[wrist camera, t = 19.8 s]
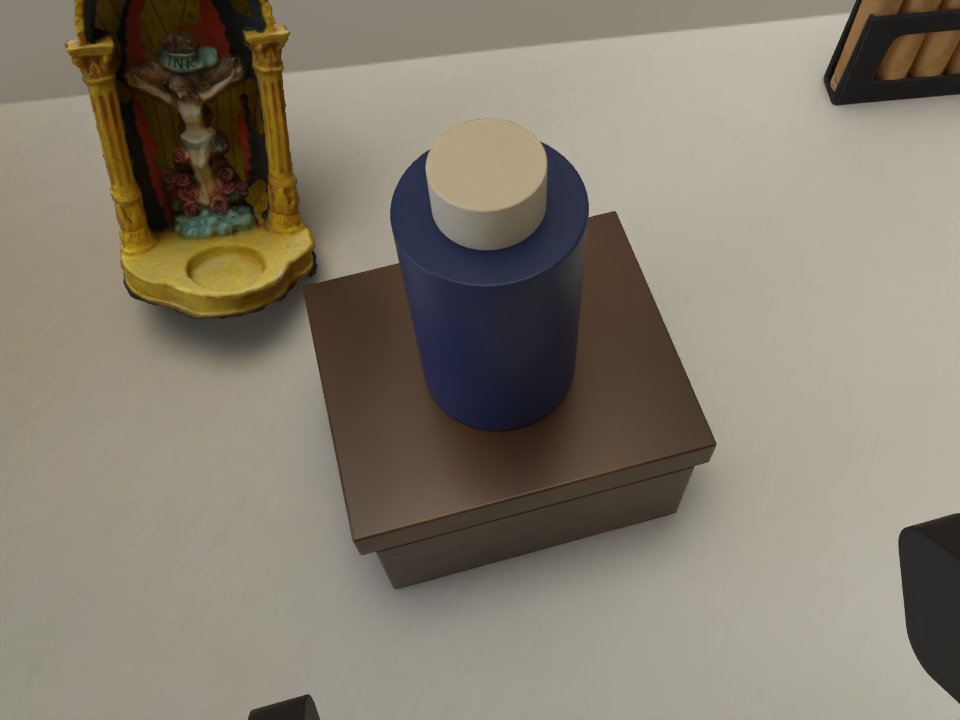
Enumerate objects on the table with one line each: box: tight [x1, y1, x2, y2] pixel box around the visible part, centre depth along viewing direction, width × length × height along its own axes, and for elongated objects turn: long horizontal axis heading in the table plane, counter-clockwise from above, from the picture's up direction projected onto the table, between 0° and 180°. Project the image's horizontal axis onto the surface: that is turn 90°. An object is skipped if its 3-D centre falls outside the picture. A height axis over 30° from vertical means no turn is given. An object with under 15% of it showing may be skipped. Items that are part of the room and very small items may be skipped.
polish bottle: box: [390, 119, 589, 430], centre depth 26 cm, size 5×5×10 cm
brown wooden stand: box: [303, 211, 716, 589], centre depth 33 cm, size 12×10×6 cm
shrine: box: [65, 0, 317, 319], centre depth 35 cm, size 12×8×15 cm
